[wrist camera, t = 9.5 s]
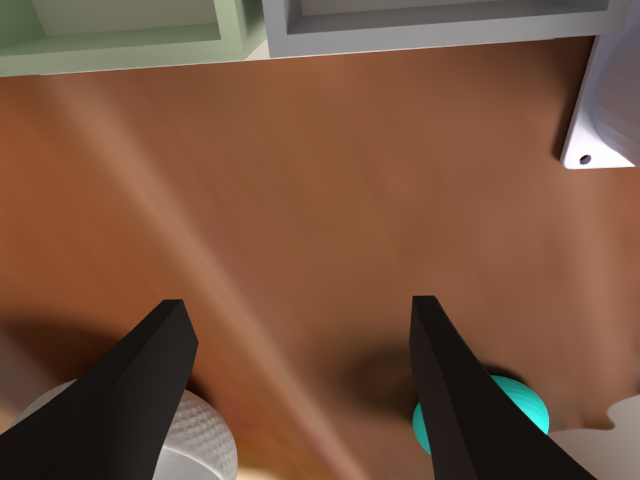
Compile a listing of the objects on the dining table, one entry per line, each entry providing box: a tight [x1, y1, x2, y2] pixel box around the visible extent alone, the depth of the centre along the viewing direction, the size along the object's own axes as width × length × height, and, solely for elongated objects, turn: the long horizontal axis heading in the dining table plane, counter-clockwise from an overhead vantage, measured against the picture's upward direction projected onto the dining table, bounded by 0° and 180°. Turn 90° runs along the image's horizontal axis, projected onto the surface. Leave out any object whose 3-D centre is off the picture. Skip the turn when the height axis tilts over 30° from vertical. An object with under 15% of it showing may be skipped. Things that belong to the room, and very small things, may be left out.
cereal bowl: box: [9, 379, 237, 480], centre depth 32 cm, size 17×17×7 cm
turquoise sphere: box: [413, 375, 549, 455], centre depth 28 cm, size 10×10×10 cm
